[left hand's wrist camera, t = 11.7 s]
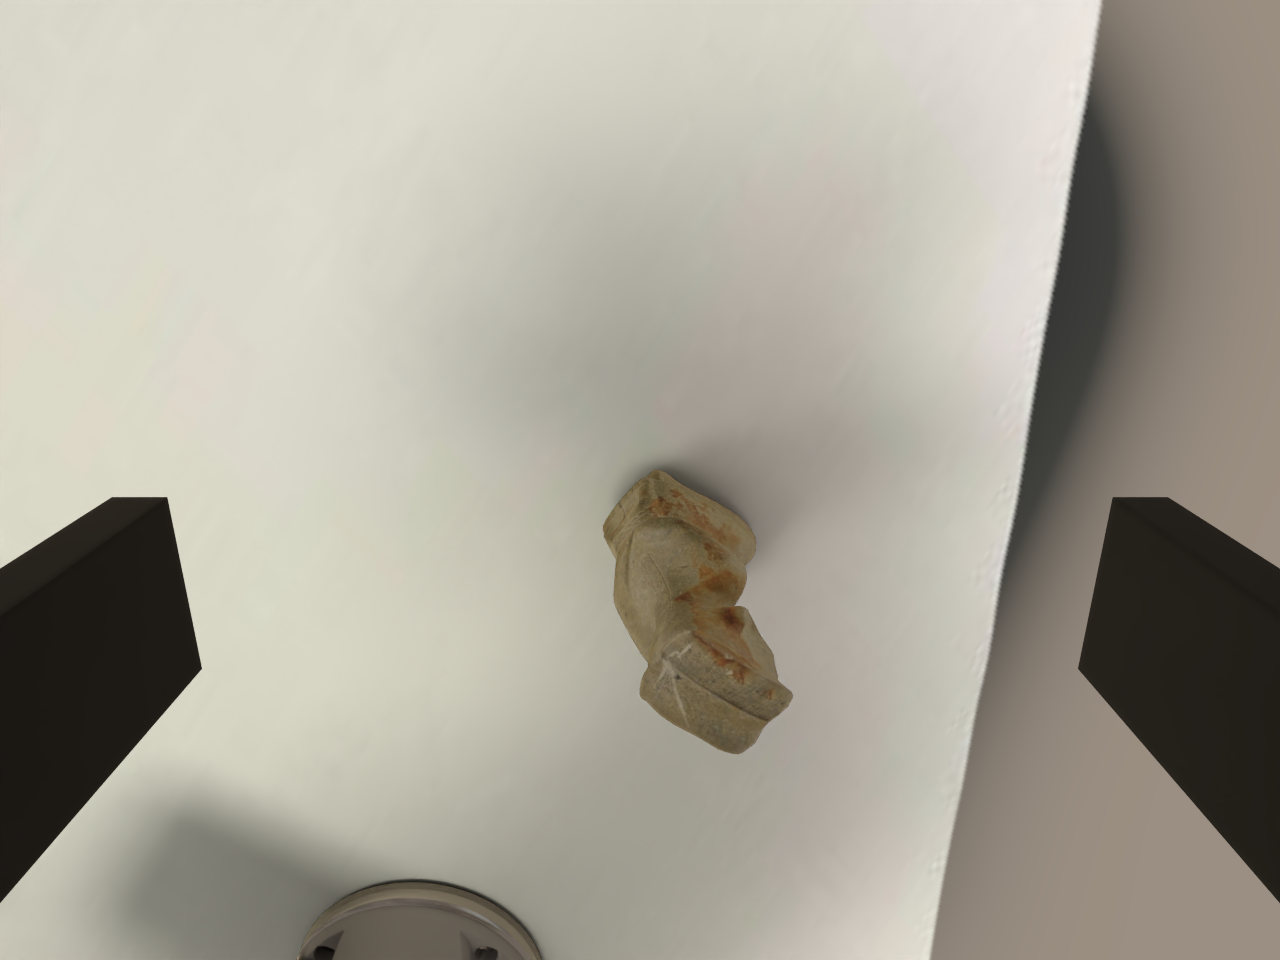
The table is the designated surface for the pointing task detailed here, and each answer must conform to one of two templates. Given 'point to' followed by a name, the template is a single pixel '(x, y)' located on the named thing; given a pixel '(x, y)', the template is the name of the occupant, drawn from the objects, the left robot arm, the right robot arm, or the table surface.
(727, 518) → the sculpture
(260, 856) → the table surface
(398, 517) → the table surface
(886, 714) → the table surface
